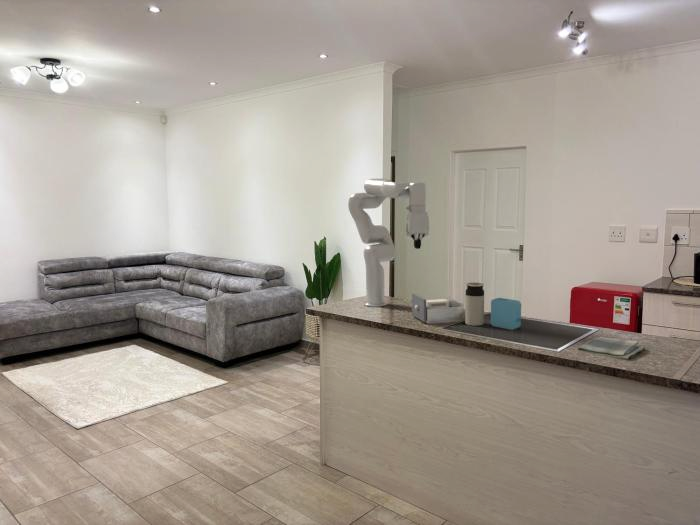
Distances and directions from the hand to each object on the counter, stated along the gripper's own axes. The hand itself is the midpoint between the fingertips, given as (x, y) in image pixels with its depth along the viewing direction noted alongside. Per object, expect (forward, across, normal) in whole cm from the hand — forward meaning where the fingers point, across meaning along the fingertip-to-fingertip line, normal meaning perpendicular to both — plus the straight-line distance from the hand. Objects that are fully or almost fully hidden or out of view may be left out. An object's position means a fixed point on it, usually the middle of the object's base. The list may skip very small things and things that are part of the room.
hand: (417, 248), depth 250 cm
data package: (+32, +28, -32) cm, 53 cm away
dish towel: (+33, +48, -73) cm, 93 cm away
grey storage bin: (+32, +7, -9) cm, 34 cm away
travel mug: (+32, +18, -23) cm, 44 cm away
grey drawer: (+31, +5, -9) cm, 33 cm away
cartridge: (+30, +6, -9) cm, 31 cm away
